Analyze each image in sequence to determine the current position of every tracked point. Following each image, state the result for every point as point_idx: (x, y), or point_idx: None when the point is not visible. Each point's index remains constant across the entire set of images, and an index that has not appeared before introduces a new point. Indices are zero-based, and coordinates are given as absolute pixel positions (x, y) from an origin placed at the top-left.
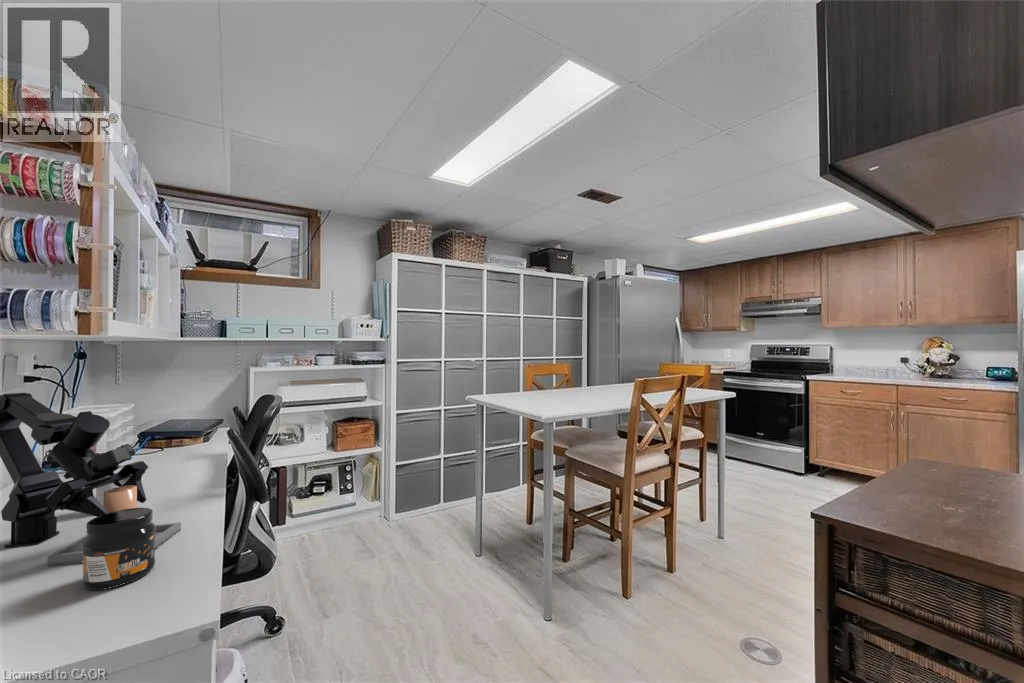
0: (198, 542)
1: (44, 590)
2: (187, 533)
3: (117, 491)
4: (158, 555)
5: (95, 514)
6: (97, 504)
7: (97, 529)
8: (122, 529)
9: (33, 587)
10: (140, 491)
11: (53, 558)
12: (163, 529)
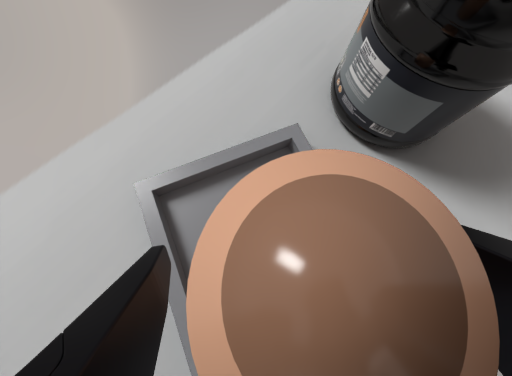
0: (218, 83)
1: (468, 198)
2: (166, 153)
3: (414, 224)
4: (290, 113)
5: None
6: (508, 243)
7: None
8: None
9: None
10: (132, 293)
11: None
12: (165, 222)
